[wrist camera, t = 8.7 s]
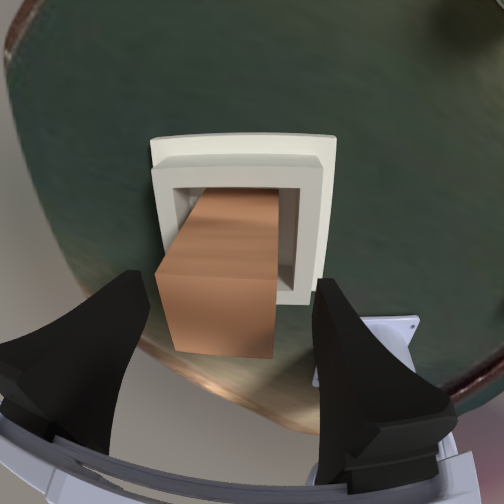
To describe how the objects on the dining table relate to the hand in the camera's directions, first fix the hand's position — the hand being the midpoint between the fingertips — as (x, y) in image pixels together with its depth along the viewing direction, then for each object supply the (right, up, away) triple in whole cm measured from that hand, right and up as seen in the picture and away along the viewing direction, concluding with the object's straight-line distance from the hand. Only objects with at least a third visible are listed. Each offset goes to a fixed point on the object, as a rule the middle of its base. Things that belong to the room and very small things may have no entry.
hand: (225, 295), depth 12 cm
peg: (0, +3, +5) cm, 6 cm away
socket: (+1, +4, +6) cm, 7 cm away
